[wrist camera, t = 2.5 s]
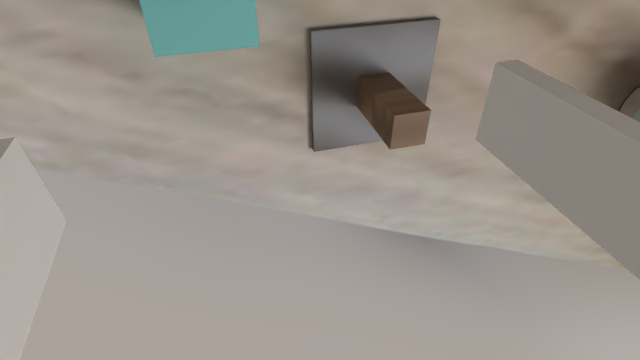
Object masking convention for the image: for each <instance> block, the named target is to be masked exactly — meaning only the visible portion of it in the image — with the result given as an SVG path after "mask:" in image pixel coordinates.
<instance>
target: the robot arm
mask: <svg viewBox="0 0 640 360" xmlns="http://www.w3.org/2000/svg"><path fill="white" fill-rule="evenodd" d="M476 140H477V141H478V142H479V143H480V144H482V145H483V146H484V147H485V148H486V149H487V150H489V151H490V152H491V153H492V154H493V155H494V156H496V157H497V158H498V159H499V160H500V161H501V162H503V163H504V164H505V165H506V166H507V167H508V168H510V169H511V170H512V171H513V172H514V173H515V174H517V175H518V176H519V177H520V178H521V179H522V180H524V181H525V182H526V183H527V184H528V185H530V186H531V187H532V188H533V189H534V190H535V191H537V192H538V193H539V194H540V195H541V196H542V197H544V198H545V199H546V200H547V201H548V202H549V203H551V204H552V205H553V206H554V207H555V208H556V209H558V210H559V211H560V212H561V213H562V214H563V215H565V216H566V217H567V218H568V219H569V220H570V221H572V222H573V223H574V224H575V225H576V226H578V227H579V228H580V229H581V230H582V231H583V232H585V233H586V234H587V235H588V236H589V237H590V238H592V239H593V240H594V241H595V242H596V243H597V244H599V245H600V246H601V247H602V248H603V249H604V250H606V251H607V252H608V253H609V254H610V255H611V256H613V257H614V258H615V259H616V260H617V261H618V262H620V263H621V264H622V265H623V266H624V267H625V268H627V269H628V270H629V271H630V272H631V273H633V274H634V275H635V276H636V277H637V278H639V279H640V122H638V121H636V120H634V119H632V118H630V117H628V116H626V115H625V114H623V113H621V112H619V111H617V110H615V109H613V108H611V107H609V106H607V105H605V104H603V103H601V102H599V101H597V100H595V99H593V98H591V97H589V96H587V95H585V94H584V93H582V92H580V91H578V90H576V89H574V88H572V87H570V86H568V85H566V84H564V83H562V82H560V81H558V80H556V79H554V78H552V77H550V76H548V75H546V74H544V73H543V72H541V71H539V70H537V69H535V68H533V67H531V66H529V65H527V64H525V63H523V62H521V61H519V60H511V61H504V62H498V63H496V64H495V68H494V72H493V75H492V79H491V83H490V87H489V91H488V94H487V98H486V102H485V106H484V110H483V113H482V117H481V121H480V125H479V129H478V132H477V136H476ZM65 224H66V220H65V218H64V216H63V215H62V213H61V211H60V210H59V208H58V207H57V205H56V204H55V202H54V200H53V199H52V197H51V195H50V194H49V192H48V190H47V189H46V187H45V186H44V184H43V182H42V181H41V179H40V177H39V176H38V174H37V173H36V171H35V169H34V168H33V166H32V165H31V163H30V161H29V160H28V158H27V156H26V155H25V153H24V152H23V150H22V148H21V147H20V145H19V144H18V142H17V140H16V139H15V137H14V138H7V139H1V140H0V360H20V357H21V354H22V351H23V348H24V345H25V342H26V339H27V336H28V333H29V330H30V328H31V325H32V322H33V319H34V316H35V313H36V310H37V307H38V304H39V301H40V298H41V295H42V292H43V289H44V286H45V283H46V280H47V277H48V274H49V271H50V269H51V266H52V263H53V260H54V257H55V254H56V250H57V248H58V245H59V242H60V239H61V236H62V233H63V230H64V227H65Z"/></svg>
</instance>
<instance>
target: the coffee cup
mask: <svg viewBox="0 0 640 360" xmlns="http://www.w3.org/2000/svg"><path fill="white" fill-rule="evenodd" d="M619 112H621V113H623V114H625V115H626V116H628V117H630V118H632V119H634V120H636V121H638V122H640V87H639V88H637V89H636V90H635V91H634V92H633V93H632V94H631V95H630V96H629V97H628V98H627V99H626V101H625V102H624V104H623V105H622V107H621V109H620V111H619Z"/></svg>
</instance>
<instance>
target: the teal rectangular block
mask: <svg viewBox="0 0 640 360" xmlns="http://www.w3.org/2000/svg"><path fill="white" fill-rule="evenodd" d="M139 1H140V5H141V8H142V12H143V15H144V19H145V23H146V26H147V30H148V33H149V37H150V40H151V44H152V48H153V51H154V55H155V57H158V56H168V55H178V54H188V53H198V52H208V51H219V50H229V49H239V48H249V47H259V46H260V44H259V35H258V25H257V16H256V6H255V0H139Z"/></svg>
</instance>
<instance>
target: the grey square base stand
mask: <svg viewBox="0 0 640 360" xmlns="http://www.w3.org/2000/svg"><path fill="white" fill-rule="evenodd" d="M439 25H440V19H438V18H434V19H423V20H412V21H401V22H391V23H380V24H369V25H358V26H347V27H337V28H326V29H315V30H310V51H311V94H312V137H313V151H314V152H315V151H321V150H328V149H334V148H340V147H346V146H352V145H358V144H364V143H371V142H377V141H384V142H385V144H386V145H387V146H388V147H389V149H390V150H391V149H397V148H403V147H408V146H414V145H420V144H425V139H426V133H427V128H428V123H429V118H430V112H431V110H430V109H429V108H428V107H427V106H426V105H425V103H426V97H427V91H428V86H429V80H430V75H431V69H432V64H433V58H434V52H435V47H436V41H437V36H438V30H439Z"/></svg>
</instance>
